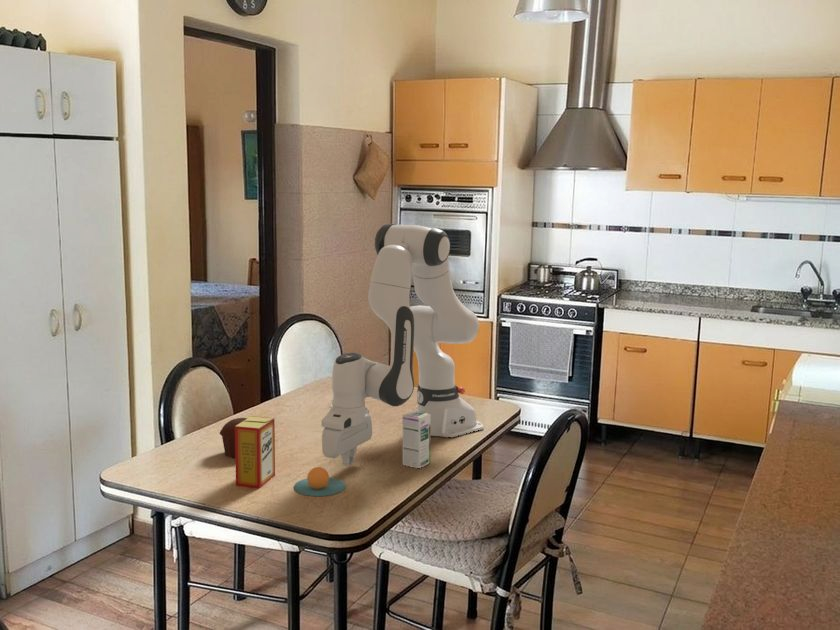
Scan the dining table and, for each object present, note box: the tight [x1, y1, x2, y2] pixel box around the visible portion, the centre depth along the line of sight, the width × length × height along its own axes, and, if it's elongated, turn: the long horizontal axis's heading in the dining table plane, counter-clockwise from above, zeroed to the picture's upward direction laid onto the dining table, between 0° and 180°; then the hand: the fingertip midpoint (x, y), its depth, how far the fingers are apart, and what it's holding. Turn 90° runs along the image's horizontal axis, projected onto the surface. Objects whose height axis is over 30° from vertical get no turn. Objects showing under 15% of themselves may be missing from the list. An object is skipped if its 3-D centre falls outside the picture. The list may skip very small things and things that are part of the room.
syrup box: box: [402, 410, 432, 469], centre depth 226 cm, size 6×6×14 cm
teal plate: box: [293, 476, 347, 497], centre depth 209 cm, size 13×13×1 cm
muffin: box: [219, 417, 249, 459], centre depth 232 cm, size 12×11×10 cm
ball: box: [306, 466, 330, 489], centre depth 208 cm, size 6×6×6 cm
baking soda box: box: [234, 415, 276, 489], centre depth 211 cm, size 10×6×16 cm
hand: (348, 464), depth 221 cm, fingers closed
